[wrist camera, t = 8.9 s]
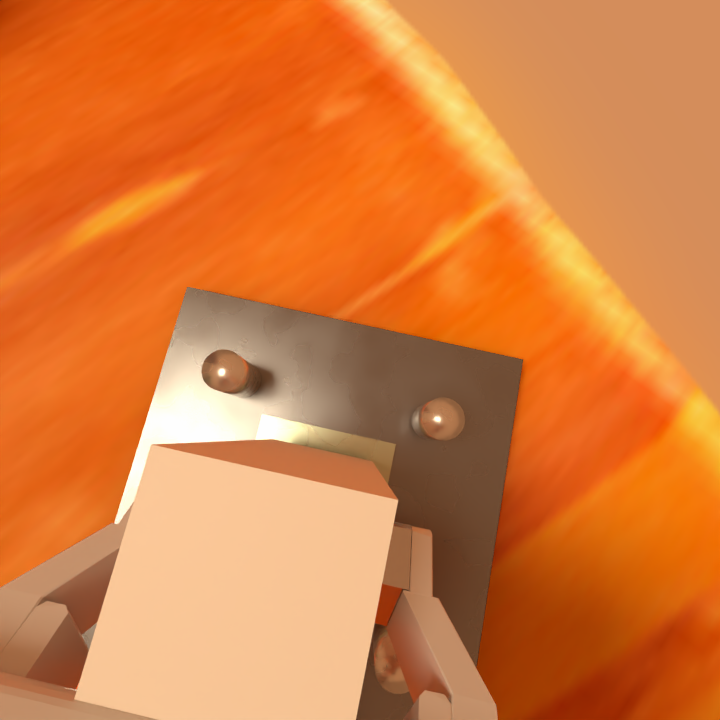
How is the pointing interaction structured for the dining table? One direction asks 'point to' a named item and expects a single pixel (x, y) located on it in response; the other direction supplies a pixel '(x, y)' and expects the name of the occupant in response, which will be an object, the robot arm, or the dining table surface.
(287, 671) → the post
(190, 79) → the dining table surface
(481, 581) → the grey square base plate
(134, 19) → the dining table surface
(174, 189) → the dining table surface
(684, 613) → the dining table surface
